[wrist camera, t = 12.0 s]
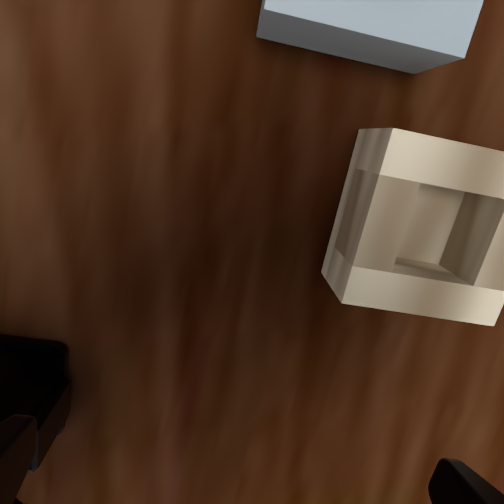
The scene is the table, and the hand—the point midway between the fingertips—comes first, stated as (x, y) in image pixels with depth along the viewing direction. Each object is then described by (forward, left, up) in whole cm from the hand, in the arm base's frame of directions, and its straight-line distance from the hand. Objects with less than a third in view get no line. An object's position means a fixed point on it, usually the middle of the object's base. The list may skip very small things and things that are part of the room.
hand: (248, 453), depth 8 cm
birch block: (+9, +4, -13) cm, 16 cm away
